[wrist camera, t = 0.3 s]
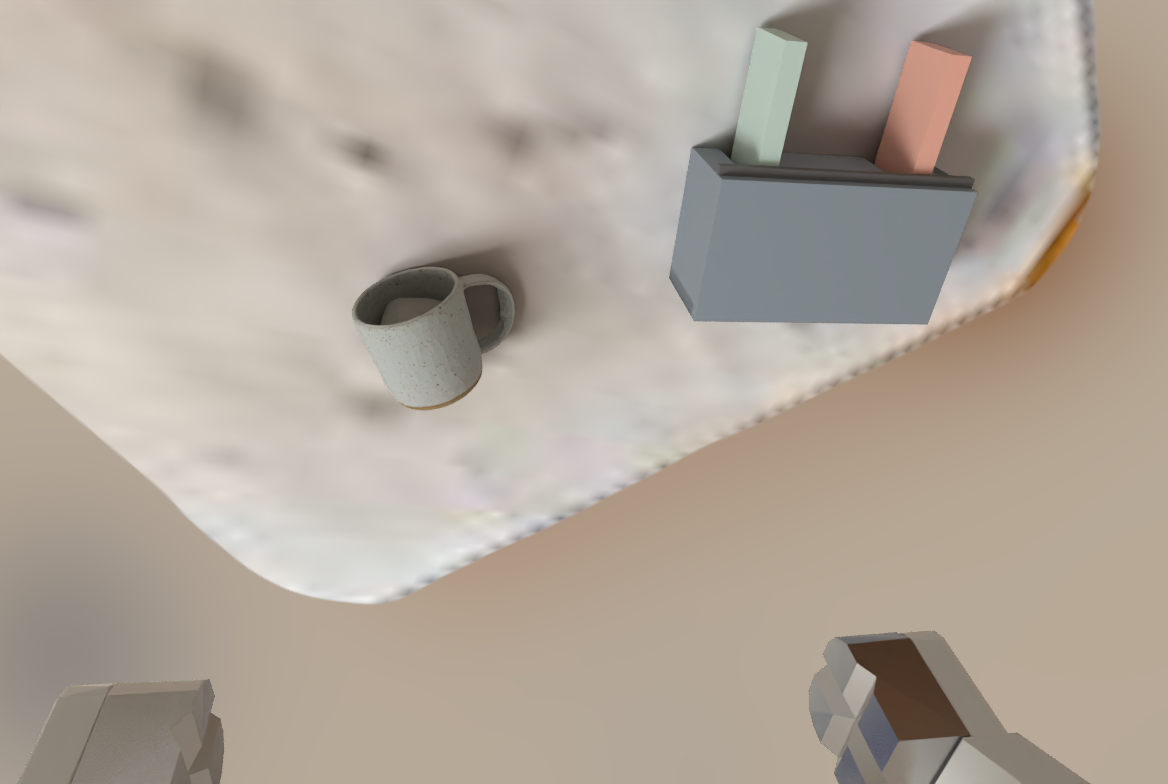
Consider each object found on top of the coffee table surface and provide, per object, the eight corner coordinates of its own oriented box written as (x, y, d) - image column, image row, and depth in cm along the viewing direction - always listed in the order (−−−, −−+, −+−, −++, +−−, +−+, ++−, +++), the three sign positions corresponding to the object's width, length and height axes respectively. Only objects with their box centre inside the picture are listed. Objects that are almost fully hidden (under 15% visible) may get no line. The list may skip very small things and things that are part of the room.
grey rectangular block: (693, 138, 54) (724, 170, 48) (926, 152, 57) (981, 183, 51) (669, 278, 60) (694, 321, 54) (882, 283, 63) (927, 324, 57)
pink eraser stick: (911, 40, 52) (952, 54, 48) (930, 42, 52) (972, 56, 48) (851, 237, 60) (882, 264, 55) (868, 237, 60) (900, 264, 56)
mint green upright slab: (757, 26, 50) (785, 40, 46) (777, 28, 50) (807, 42, 46) (715, 232, 57) (737, 259, 53) (733, 233, 58) (756, 260, 54)
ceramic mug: (395, 374, 60) (392, 432, 54) (353, 283, 56) (345, 335, 49) (525, 335, 61) (538, 389, 54) (495, 241, 56) (505, 288, 50)
